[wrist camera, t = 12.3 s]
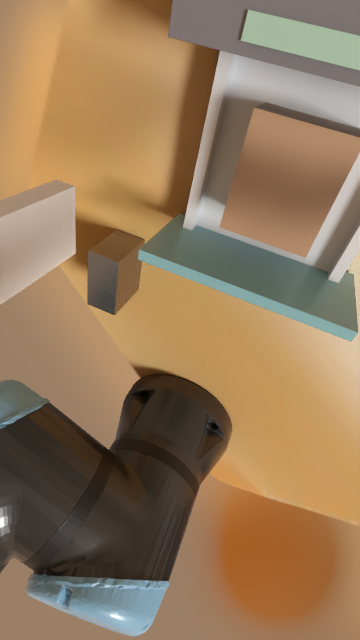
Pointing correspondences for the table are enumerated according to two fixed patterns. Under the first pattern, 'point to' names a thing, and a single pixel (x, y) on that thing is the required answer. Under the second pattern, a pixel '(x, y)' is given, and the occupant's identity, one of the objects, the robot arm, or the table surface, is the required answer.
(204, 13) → the housing
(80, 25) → the table surface
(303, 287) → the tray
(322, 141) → the walnut block
